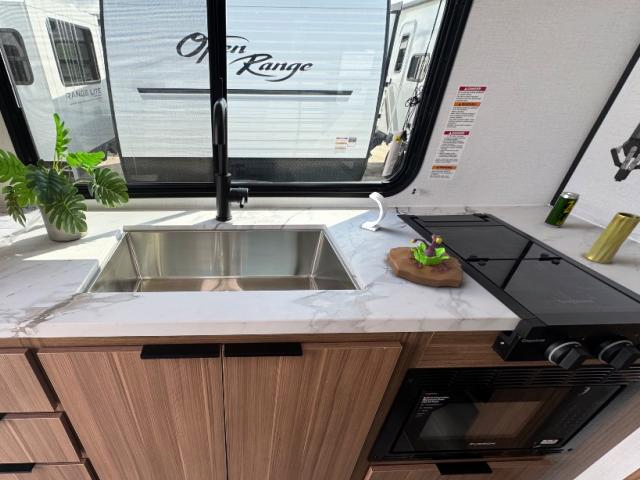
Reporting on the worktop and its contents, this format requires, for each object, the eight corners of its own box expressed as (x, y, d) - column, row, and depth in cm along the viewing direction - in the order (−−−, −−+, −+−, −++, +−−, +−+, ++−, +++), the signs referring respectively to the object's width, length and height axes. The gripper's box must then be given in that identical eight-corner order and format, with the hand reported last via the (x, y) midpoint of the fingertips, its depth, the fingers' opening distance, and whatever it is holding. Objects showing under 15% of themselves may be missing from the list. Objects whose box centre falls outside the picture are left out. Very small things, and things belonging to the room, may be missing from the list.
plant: (390, 280, 89) (403, 243, 82) (384, 250, 104) (394, 216, 98) (471, 292, 85) (491, 254, 78) (452, 258, 100) (467, 224, 94)
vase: (603, 265, 98) (638, 220, 90) (579, 256, 103) (610, 213, 94) (614, 261, 100) (649, 217, 92) (590, 253, 105) (621, 210, 96)
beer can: (540, 223, 125) (558, 192, 118) (548, 221, 127) (567, 190, 120) (555, 228, 121) (575, 196, 114) (564, 226, 123) (584, 195, 116)
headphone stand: (366, 223, 122) (374, 192, 115) (382, 228, 119) (391, 195, 112) (361, 227, 119) (369, 194, 112) (377, 231, 116) (386, 198, 109)
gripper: (688, 124, 96) (645, 183, 106) (627, 119, 104) (592, 175, 114) (691, 126, 92) (645, 187, 102) (627, 121, 99) (590, 178, 110)
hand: (617, 180), depth 108 cm, fingers closed
